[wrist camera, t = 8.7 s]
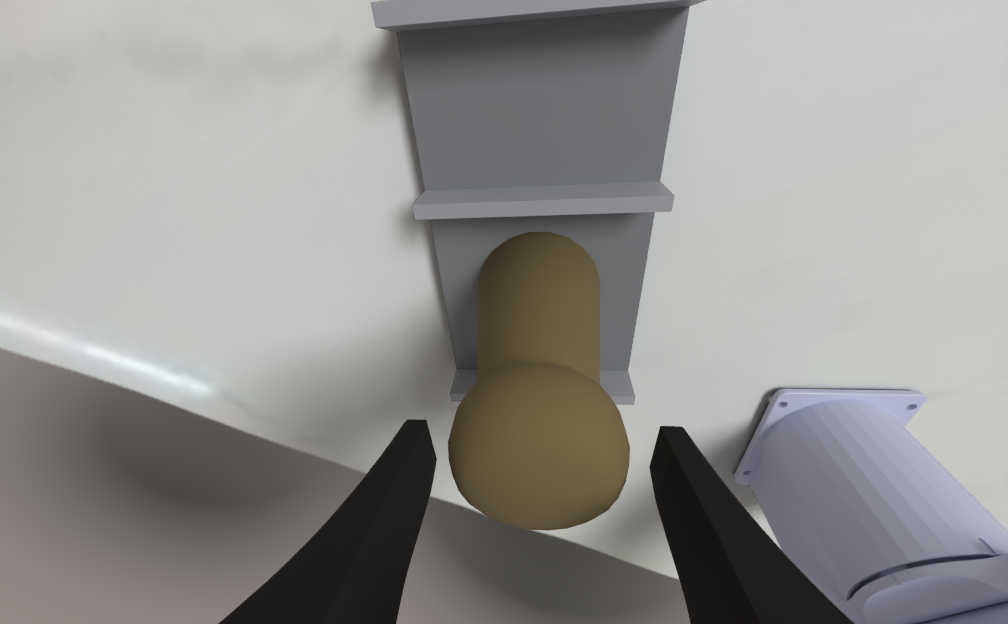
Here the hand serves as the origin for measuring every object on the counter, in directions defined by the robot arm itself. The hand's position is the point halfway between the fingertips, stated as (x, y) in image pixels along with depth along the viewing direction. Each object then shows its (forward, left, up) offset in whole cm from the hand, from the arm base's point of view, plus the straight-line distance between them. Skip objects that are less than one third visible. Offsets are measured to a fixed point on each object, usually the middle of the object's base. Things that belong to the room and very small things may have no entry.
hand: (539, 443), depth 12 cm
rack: (+3, 0, -10) cm, 10 cm away
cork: (+1, 0, -9) cm, 9 cm away
